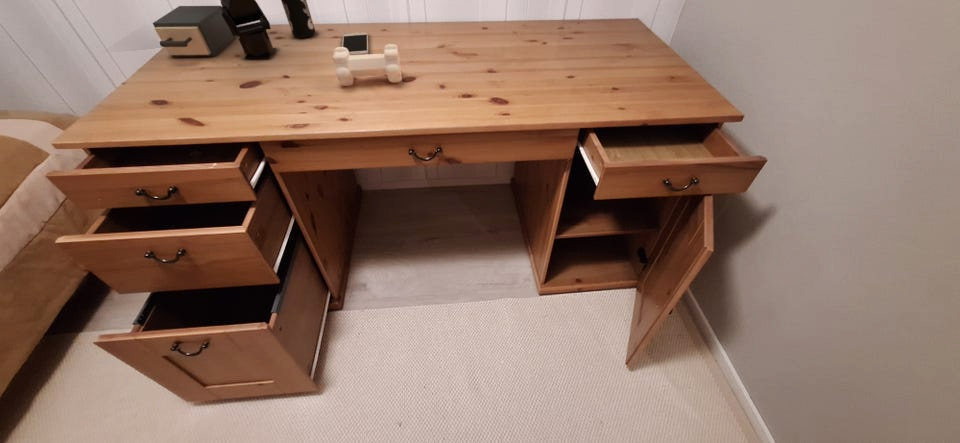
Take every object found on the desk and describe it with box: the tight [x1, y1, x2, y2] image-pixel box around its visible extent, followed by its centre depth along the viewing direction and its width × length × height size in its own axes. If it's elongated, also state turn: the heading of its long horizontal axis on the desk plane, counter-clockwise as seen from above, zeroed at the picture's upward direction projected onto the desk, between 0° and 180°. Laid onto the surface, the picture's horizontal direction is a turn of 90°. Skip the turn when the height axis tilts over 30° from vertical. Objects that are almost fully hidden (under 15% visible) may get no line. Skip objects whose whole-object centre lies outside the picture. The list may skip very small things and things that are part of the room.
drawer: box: [154, 26, 211, 56], centre depth 102 cm, size 17×10×7 cm, turn 3°
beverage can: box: [280, 0, 316, 39], centre depth 110 cm, size 7×7×12 cm
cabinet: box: [152, 5, 236, 58], centre depth 105 cm, size 14×12×9 cm
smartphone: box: [341, 31, 370, 55], centre depth 108 cm, size 7×16×1 cm, turn 12°
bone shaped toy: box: [332, 43, 403, 87], centre depth 91 cm, size 15×9×8 cm, turn 99°
